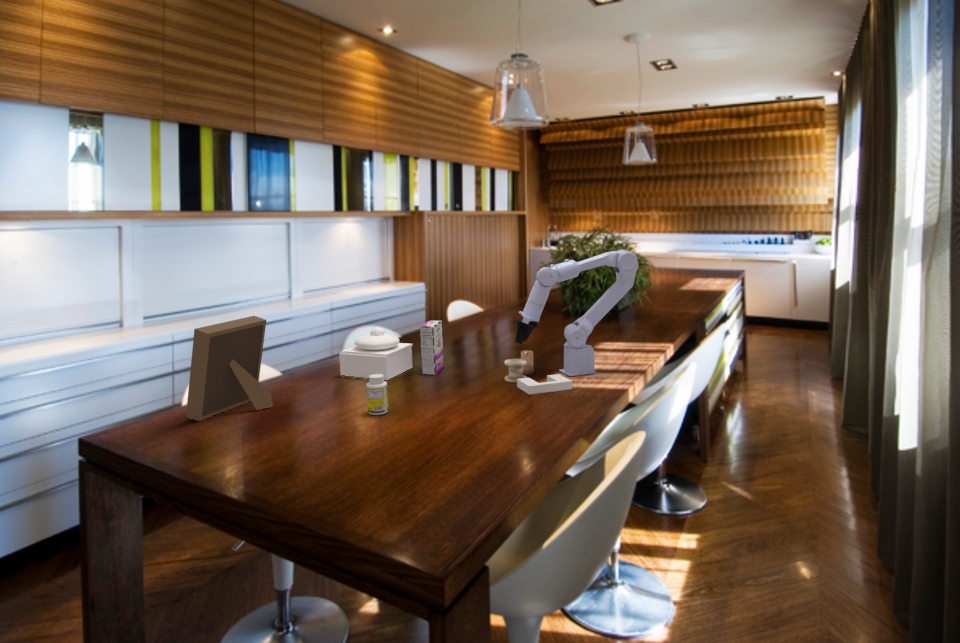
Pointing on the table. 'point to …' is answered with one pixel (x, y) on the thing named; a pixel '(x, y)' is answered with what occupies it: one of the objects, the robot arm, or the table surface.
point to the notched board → (544, 384)
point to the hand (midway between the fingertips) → (520, 341)
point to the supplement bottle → (377, 395)
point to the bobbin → (515, 369)
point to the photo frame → (227, 367)
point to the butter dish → (376, 356)
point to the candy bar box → (431, 347)
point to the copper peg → (528, 357)
